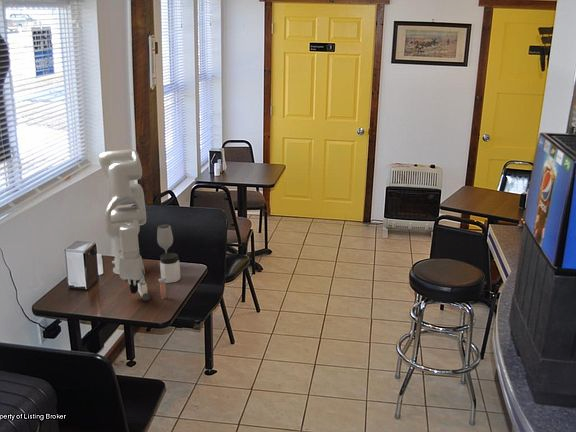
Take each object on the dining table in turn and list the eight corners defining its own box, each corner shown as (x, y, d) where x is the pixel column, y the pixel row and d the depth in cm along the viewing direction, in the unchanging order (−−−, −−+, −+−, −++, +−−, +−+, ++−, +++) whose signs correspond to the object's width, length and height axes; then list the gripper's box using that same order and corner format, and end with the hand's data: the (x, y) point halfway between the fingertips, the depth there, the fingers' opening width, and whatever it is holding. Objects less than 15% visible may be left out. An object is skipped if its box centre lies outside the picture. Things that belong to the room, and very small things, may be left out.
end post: (158, 298, 279) (156, 279, 276) (163, 295, 282) (162, 277, 279) (163, 300, 277) (161, 281, 275) (169, 297, 280) (167, 279, 277)
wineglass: (156, 267, 314) (152, 226, 307) (169, 262, 319) (166, 223, 312) (165, 271, 309) (161, 230, 302) (178, 266, 314) (175, 226, 307)
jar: (183, 280, 298) (181, 256, 294) (168, 284, 293) (165, 260, 289) (173, 274, 304) (171, 251, 301) (158, 279, 300) (156, 255, 296)
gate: (134, 288, 289) (133, 272, 287) (141, 287, 290) (140, 270, 288) (143, 301, 275) (141, 284, 273) (150, 300, 277) (148, 283, 274)
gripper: (110, 255, 272) (114, 294, 277) (142, 258, 268) (146, 297, 274) (119, 248, 278) (123, 287, 284) (150, 251, 275) (153, 290, 280)
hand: (134, 292), depth 279 cm, fingers closed
